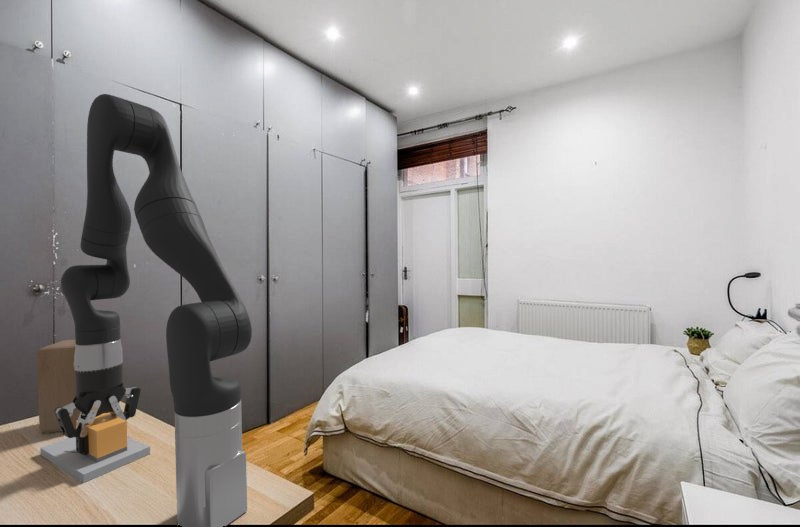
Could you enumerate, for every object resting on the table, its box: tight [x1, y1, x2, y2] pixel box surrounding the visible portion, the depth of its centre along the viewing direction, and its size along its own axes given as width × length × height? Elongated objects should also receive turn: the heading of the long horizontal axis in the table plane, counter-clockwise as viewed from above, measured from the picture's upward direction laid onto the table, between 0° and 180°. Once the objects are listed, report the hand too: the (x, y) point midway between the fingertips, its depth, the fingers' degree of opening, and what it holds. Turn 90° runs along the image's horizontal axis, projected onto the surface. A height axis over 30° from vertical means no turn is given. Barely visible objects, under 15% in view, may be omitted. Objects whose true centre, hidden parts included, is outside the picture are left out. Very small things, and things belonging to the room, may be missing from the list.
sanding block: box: [76, 413, 128, 463], centre depth 74 cm, size 9×5×6 cm, turn 61°
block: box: [36, 339, 81, 434], centre depth 90 cm, size 10×10×20 cm
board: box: [39, 435, 151, 484], centre depth 75 cm, size 20×11×2 cm, turn 61°
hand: (101, 446), depth 74 cm, fingers closed on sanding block, 5 cm apart
